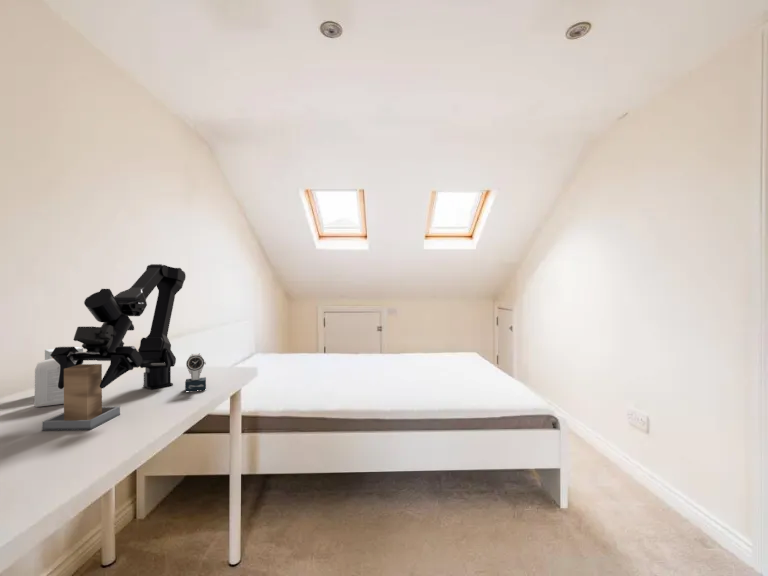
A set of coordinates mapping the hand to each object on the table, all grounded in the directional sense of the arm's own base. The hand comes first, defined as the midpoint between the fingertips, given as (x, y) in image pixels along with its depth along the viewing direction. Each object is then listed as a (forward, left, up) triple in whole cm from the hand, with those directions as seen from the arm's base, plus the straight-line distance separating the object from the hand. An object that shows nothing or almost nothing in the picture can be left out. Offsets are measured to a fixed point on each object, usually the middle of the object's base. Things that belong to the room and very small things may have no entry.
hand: (80, 387), depth 89 cm
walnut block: (-1, -1, -8) cm, 8 cm away
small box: (-6, -37, -8) cm, 38 cm away
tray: (-1, -1, -8) cm, 8 cm away
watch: (-31, -8, -8) cm, 33 cm away
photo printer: (-2, -24, -8) cm, 25 cm away
